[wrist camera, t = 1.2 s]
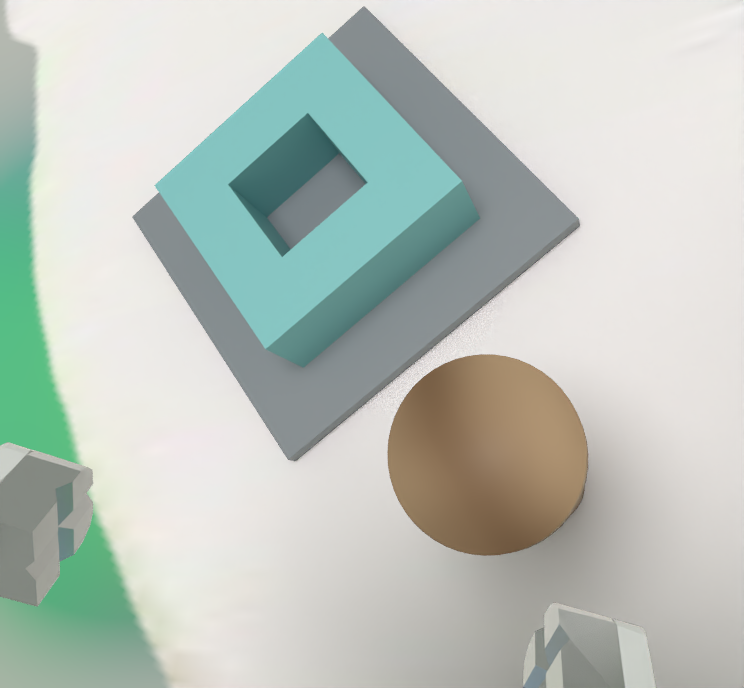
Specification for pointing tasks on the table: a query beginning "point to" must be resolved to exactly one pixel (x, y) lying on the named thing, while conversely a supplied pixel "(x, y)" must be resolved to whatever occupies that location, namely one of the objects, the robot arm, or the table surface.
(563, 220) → the socket board
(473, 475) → the pin
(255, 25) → the table surface
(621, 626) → the robot arm
